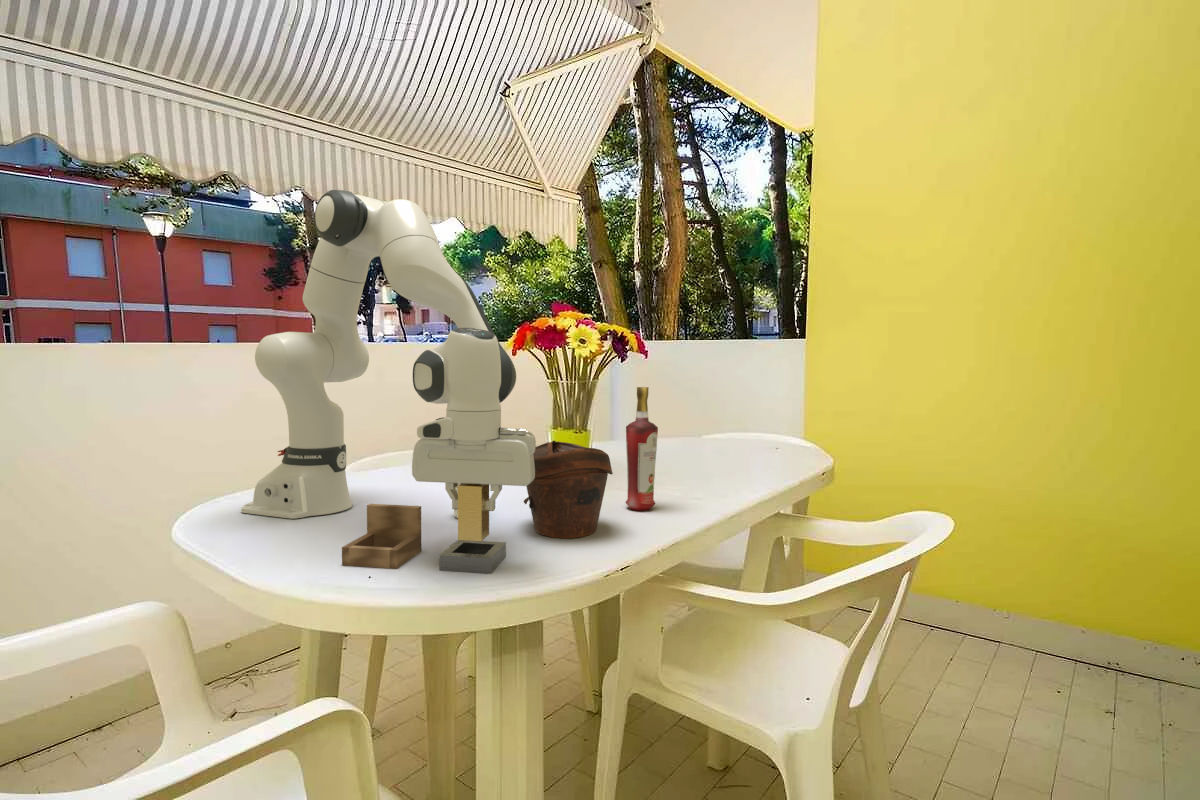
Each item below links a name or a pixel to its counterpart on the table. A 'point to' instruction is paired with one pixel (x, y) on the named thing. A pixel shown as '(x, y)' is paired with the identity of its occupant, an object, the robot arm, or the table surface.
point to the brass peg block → (472, 512)
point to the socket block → (472, 556)
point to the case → (567, 489)
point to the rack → (386, 537)
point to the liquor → (641, 456)
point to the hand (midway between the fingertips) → (473, 509)
